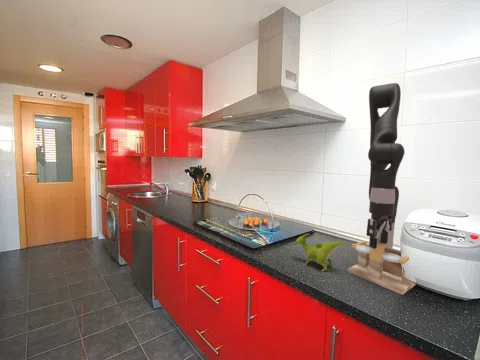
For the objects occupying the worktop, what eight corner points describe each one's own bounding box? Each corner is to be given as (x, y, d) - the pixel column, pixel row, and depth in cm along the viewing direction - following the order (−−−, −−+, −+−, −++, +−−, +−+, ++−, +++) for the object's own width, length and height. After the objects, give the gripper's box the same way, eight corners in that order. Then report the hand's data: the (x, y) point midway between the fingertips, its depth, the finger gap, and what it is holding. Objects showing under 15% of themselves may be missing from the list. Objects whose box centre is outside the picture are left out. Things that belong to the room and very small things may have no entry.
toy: (310, 269, 106) (296, 236, 110) (358, 258, 94) (340, 221, 97) (302, 276, 100) (287, 240, 104) (352, 265, 87) (333, 225, 91)
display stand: (363, 264, 102) (365, 240, 101) (416, 284, 87) (419, 255, 86) (347, 272, 95) (349, 245, 94) (402, 294, 80) (405, 263, 79)
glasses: (362, 248, 99) (363, 233, 99) (413, 263, 85) (414, 247, 85) (348, 253, 93) (350, 238, 92) (401, 271, 79) (402, 253, 78)
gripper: (379, 197, 93) (376, 238, 94) (361, 200, 84) (358, 246, 86) (402, 200, 87) (398, 244, 88) (384, 204, 78) (380, 253, 80)
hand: (378, 245), depth 87 cm, fingers open, 8 cm apart
